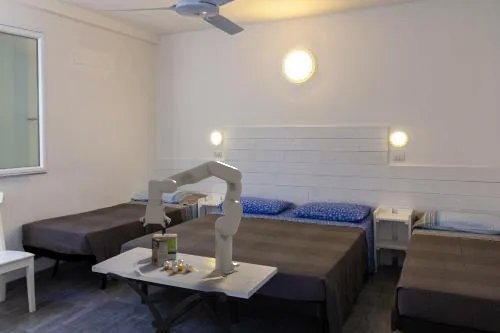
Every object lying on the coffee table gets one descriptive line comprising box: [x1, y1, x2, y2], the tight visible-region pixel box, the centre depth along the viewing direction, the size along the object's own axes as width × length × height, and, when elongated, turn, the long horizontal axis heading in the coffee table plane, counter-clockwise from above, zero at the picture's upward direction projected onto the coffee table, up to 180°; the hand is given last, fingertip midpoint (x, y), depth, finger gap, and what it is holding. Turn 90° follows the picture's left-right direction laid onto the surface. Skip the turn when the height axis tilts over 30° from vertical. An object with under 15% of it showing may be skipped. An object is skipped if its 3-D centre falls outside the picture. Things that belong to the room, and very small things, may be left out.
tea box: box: [151, 233, 178, 260], centre depth 273 cm, size 15×10×15 cm
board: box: [162, 264, 200, 276], centre depth 244 cm, size 17×15×1 cm
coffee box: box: [151, 237, 169, 267], centre depth 255 cm, size 9×6×16 cm
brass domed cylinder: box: [175, 263, 183, 271], centre depth 243 cm, size 4×4×3 cm
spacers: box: [163, 258, 192, 275], centre depth 243 cm, size 12×14×4 cm
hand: (154, 233), depth 231 cm, fingers open, 9 cm apart
